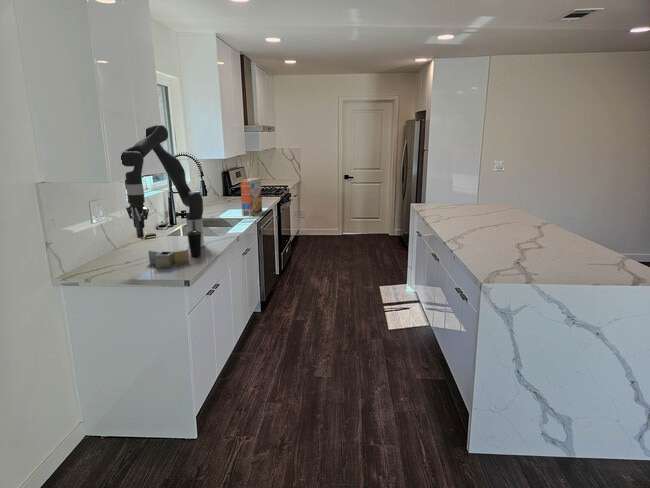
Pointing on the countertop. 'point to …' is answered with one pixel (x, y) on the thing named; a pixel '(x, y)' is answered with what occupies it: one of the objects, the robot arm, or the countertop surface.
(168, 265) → the hinge
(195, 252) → the drinking cup
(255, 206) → the pasta box
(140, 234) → the hinge pin
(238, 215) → the countertop surface
